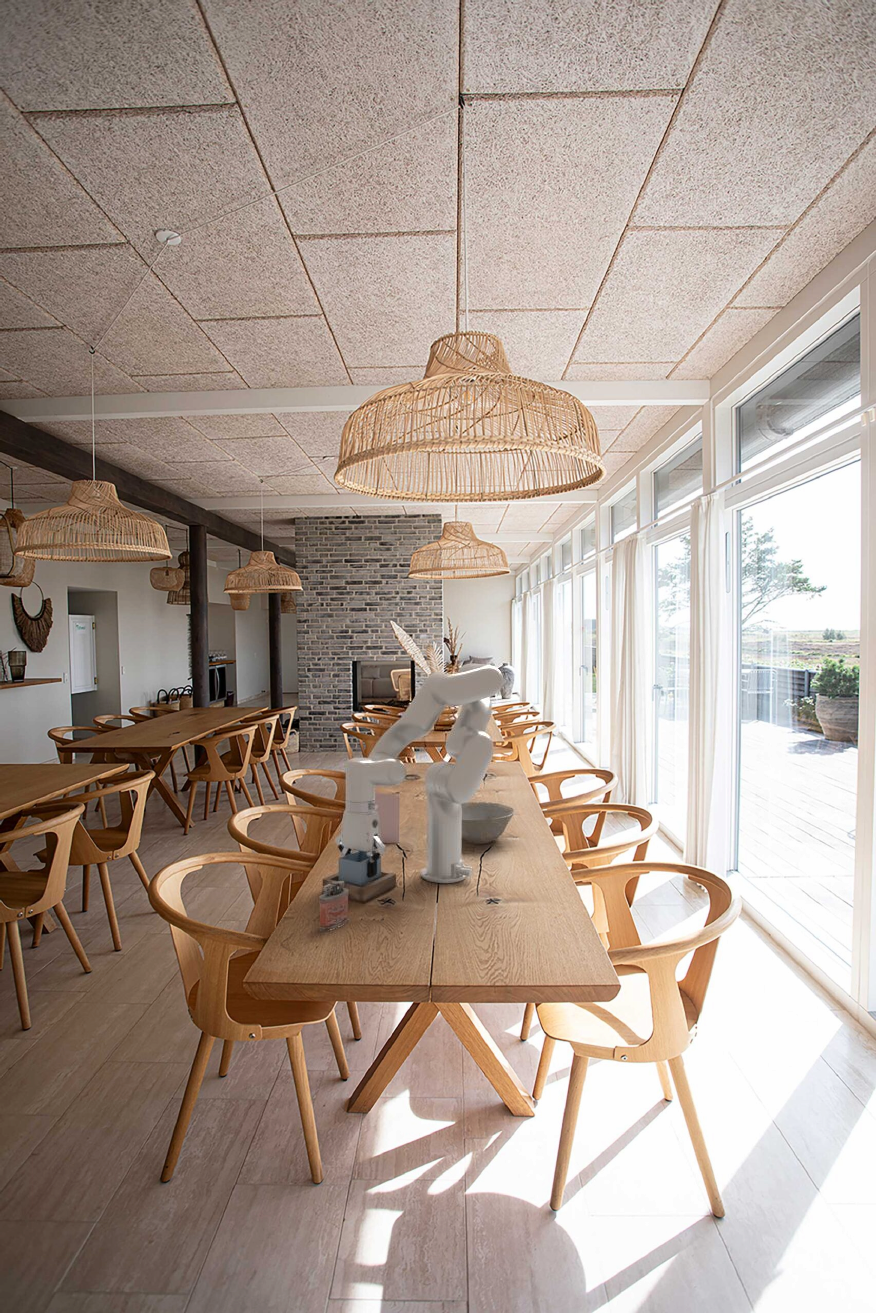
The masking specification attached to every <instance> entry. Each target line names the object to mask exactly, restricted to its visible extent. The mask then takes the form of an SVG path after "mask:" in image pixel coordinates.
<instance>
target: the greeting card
mask: <svg viewBox="0 0 876 1313" xmlns="http://www.w3.org/2000/svg"><path fill="white" fill-rule="evenodd" d="M375 804H377V805H378V808H377V809H375V811H377V813H378V817H379V823H380V833H381V842H382V843H383V844H384V843H385V844H386V843H387V844H388V843H389V844H390V843H391V844H393V843H395V844H396V843H397V844H399V843H400V795H394V794H389V793H384V792H377V791H375Z"/></svg>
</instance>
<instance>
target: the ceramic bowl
mask: <svg viewBox="0 0 876 1313" xmlns="http://www.w3.org/2000/svg"><path fill="white" fill-rule="evenodd" d="M461 808H462V839H463V840H465V841H467V842H468V843H470V844H473V845H486V844H488V843H491V842H493V841H495V840H497V839H499V838H500V837H501V835H502V834H503V833H504V832H505V829H506V828H507V825H508V823H509V822H510V821H511V819H512V818H513V816H514V815H515V808H513V807H511V806H508V805H506V804H503V803H498V802H489V801H487V802H486V801H479V802H477V801H471V802H470V801H468V802H466V803H463V804H461Z"/></svg>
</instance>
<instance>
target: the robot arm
mask: <svg viewBox="0 0 876 1313" xmlns="http://www.w3.org/2000/svg"><path fill="white" fill-rule="evenodd" d="M503 685H504V675H503V673H502V672H501V670H500V669H499V668H497V667H496V666H494V665H490V664H482V663H481V664H480V663H472V662H471V663H467V664H466V663H465V664H464V665H462V666H461V667H460V668H459V669H458V671H457V673H453V674H451V673H442V672H436V673H432V674H430V675H428V677H426V678H425V681H423V684H422V685H421V687H420V688H419V690H418V691H417V693H416V695H415V696H414V698H413V699H412V701H411V703H410V704H409V705H408V707H407V709H406V710H405V712H403V715H402V716H401V717H400V718H399V719H398V720H397V721H396V722H394V723H393V724H392V725H391V726H390V727H389V728H388V729H387V730H386V731H385V732H384V733H382V735H381V736H380V738H379V739H378V740H377V742H376V743H375V745H374V747H373V748H372V749H371V752H370V753H369V755H368V757H353V758H349V759H348V760H347V761H346V763H345V810H344V811H343V815H342V821H341V830H340V832H341V833H340V834H338V835H337V836H336V837H335V838H334V842H335V844H336V845H337V848H338V850H339V851H340V854H341V857H343V856H346V855H348V854H351V853H353V850H354V851H363V852H366V854H367V856H368V859H369V861H370V862H368V863H367V876H368V878H371V877H373V876H375V875H376V874H377V860H379V858H380V857H381V858H382V856H383V855H384V854H385V852H386V851H387V846H386V845H385V844H384V843H382V842H381V833H380V823H379V817H378V813H377V811H375V809H377V808H378V805H377V804H375V792H376V788H375V787H377V786H378V787H395V786H398V785H400V784H402V783H403V782H404V780H405V779H406V777H407V767H406V765H405V764H404V762H403V761H402V760H400V759H399V758H398V757H399V756H400V753H401V752H402V751H403V750H404V749H405V748H406V747H407V746H408V745H409V744H411V743H412V742H414V741H417V740H419V739H422V738H424V737H425V736H427V735H428V734H430V732H431V731H432V729H433V728H434V726H435V724H436V723H437V720H439V718H440V716H441V715H442V713H443V712H444V710H445V709H446V707H459V706H461V708H460V712H459V713H458V716H457V718H456V720H455V722H454V724H453V726H452V728H451V730H450V732H449V734H448V736H447V739H446V741H445V748H444V749H445V751H446V753H447V755H448V756H449V757H451V758H452V759H454V760H455V762H454V763H452V762H450V761H444V760H443V761H437V762H433V764H431V765H430V766H429V767H428V769H427V770H426V773H425V775H424V789H425V796H426V804H427V805H426V806H427V808H426V809H427V810H426V811H427V816H426V819H427V821H426V822H427V823H426V825H427V828H426V829H427V831H426V832H427V833H426V845H427V846H426V849H427V850H426V867H424V868H422V869H421V871H420V872H421V873H420V874H421V875H420V876H421V877H422V879H424V880H425V881H428V882H432V883H438V884H453V883H459V882H462V881H464V880H465V879H466V878H467V877H473V873H474V868H473V867H472V866H469V865H466V859H462V840H463V838H462V808H461V804H463V803H466V802H470V801H471V800H472V799H473V798H474V796H475V795H476V794H477V792H478V790H479V789H480V786H481V783H482V781H483V780H484V777H485V776H486V773H487V772H488V771H487V770H488V769H489V767H490V766H491V762H492V759H493V757H494V752H495V749H494V742H493V740H492V737H491V736H489V734H487V733H486V730H487V727H488V725H489V722H490V720H491V716H492V711H493V705H492V704H493V703H492V699H491V697H494V696H495V695H497V694H498V693H500V691H501V689H502V687H503ZM371 852H372V853H373V855H372V853H371Z"/></svg>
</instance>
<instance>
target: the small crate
mask: <svg viewBox="0 0 876 1313" xmlns="http://www.w3.org/2000/svg"><path fill="white" fill-rule="evenodd" d="M371 853H372V852H371ZM372 855H373V853H372ZM368 862H370V861H369V859H368V856H367V854H366V852H363V851H358V850H354V851H352V852H351V854H348V855H346V856H341V857H339V858H338V872H339V881H344V883H347V884H351V885H355V886H359V887H360V886H362V885H364V884H367V883H369V882H371V881H373V880H375V879H377V878H379V877H381V871H382V856H381V857H380V858H379V860H377V874H376V875H375V876H373V877H371V878H368V876H367V863H368Z"/></svg>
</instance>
